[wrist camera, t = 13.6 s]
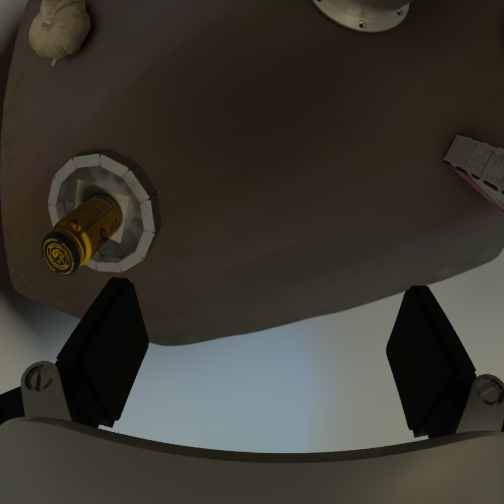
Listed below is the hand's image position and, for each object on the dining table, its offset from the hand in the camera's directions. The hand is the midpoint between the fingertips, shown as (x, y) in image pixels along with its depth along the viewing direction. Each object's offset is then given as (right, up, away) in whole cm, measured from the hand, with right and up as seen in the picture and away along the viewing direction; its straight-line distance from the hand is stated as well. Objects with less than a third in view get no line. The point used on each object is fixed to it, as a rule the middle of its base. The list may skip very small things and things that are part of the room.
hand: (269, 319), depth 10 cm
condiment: (-22, +8, +29) cm, 37 cm away
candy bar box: (+30, +14, +23) cm, 40 cm away
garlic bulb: (-23, +31, +17) cm, 42 cm away
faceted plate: (-21, +8, +29) cm, 37 cm away
